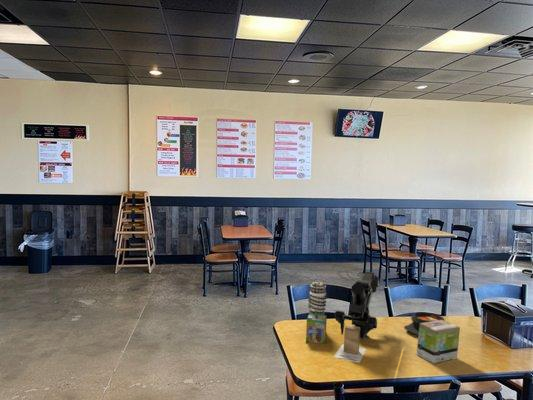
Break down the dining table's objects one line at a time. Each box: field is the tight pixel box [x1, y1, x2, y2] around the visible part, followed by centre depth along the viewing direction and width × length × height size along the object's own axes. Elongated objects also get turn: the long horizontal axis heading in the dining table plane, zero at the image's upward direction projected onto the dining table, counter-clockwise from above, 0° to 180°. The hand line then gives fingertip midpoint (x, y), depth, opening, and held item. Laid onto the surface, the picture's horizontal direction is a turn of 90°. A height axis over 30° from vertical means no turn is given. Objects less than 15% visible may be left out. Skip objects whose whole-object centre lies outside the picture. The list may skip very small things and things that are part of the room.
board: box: [333, 343, 367, 364], centre depth 176 cm, size 16×11×1 cm
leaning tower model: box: [307, 281, 328, 315], centre depth 201 cm, size 9×9×25 cm
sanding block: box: [343, 324, 361, 355], centre depth 177 cm, size 4×6×11 cm, turn 66°
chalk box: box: [305, 309, 328, 345], centre depth 190 cm, size 9×9×15 cm
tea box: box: [416, 319, 461, 364], centre depth 179 cm, size 15×10×15 cm, turn 117°
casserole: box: [404, 311, 446, 336], centre depth 208 cm, size 25×19×8 cm
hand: (352, 336), depth 177 cm, fingers open, 9 cm apart
